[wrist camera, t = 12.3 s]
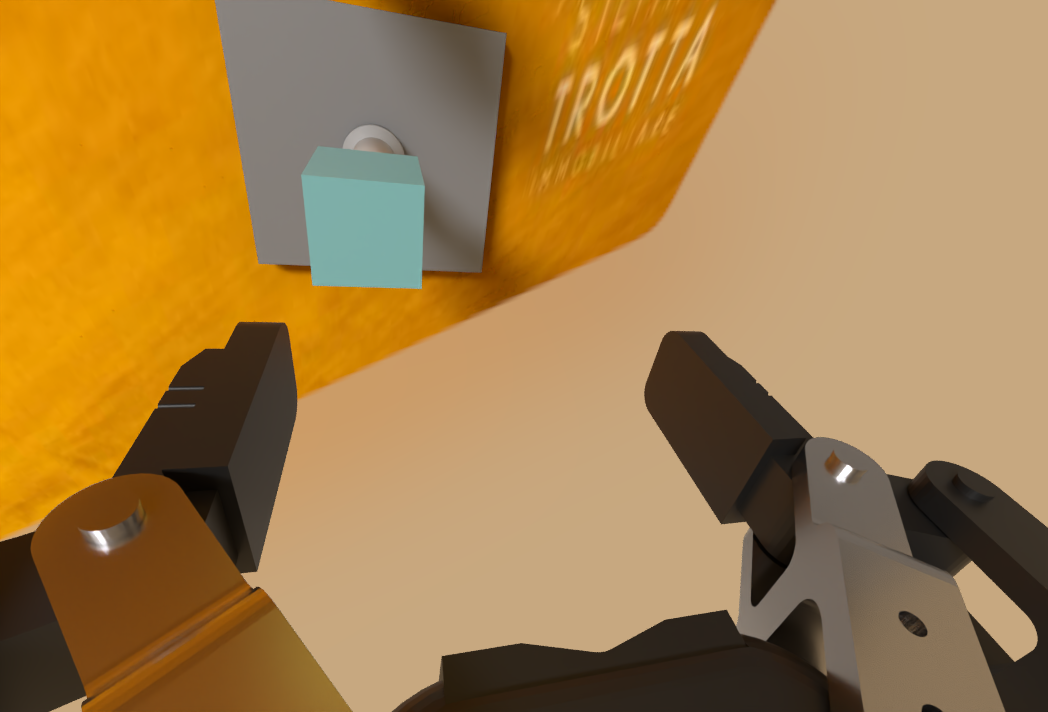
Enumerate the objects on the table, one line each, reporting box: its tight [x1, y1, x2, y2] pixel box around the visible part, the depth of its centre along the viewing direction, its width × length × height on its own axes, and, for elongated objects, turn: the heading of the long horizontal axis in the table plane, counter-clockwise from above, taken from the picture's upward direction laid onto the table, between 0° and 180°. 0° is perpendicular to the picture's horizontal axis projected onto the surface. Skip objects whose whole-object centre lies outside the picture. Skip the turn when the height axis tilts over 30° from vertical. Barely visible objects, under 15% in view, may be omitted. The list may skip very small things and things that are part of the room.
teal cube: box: [301, 146, 425, 289], centre depth 24 cm, size 5×5×6 cm
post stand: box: [215, 0, 506, 273], centre depth 30 cm, size 18×18×18 cm
